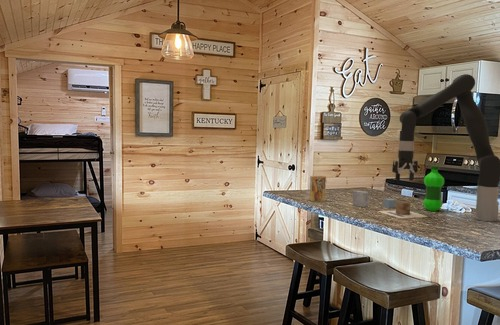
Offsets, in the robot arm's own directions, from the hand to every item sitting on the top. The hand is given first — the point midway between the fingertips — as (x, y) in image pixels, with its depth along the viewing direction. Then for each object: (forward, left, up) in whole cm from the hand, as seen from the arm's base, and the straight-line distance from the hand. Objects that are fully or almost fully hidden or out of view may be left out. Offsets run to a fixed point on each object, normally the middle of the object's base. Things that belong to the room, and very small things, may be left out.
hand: (404, 180), depth 219 cm
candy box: (+24, -50, -18) cm, 59 cm away
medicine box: (+8, -27, -18) cm, 34 cm away
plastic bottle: (-26, -7, -18) cm, 33 cm away
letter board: (0, 0, -18) cm, 18 cm away
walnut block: (0, 0, -18) cm, 18 cm away
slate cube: (-6, -19, -18) cm, 27 cm away
